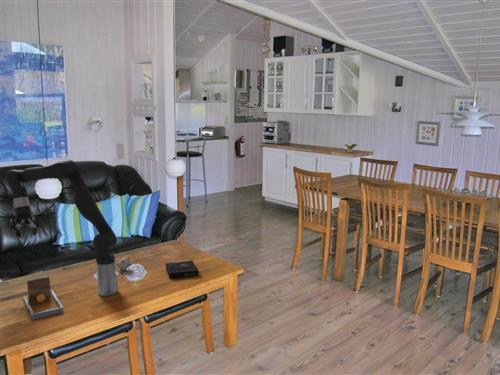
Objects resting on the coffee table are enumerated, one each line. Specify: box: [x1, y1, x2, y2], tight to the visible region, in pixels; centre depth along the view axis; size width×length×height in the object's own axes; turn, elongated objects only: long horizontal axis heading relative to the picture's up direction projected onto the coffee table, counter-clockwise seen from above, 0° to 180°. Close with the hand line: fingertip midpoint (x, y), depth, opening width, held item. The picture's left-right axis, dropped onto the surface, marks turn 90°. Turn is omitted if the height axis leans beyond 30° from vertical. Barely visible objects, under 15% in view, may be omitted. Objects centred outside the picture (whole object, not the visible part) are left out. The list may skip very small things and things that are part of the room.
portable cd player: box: [165, 260, 199, 280], centre depth 264 cm, size 16×17×4 cm
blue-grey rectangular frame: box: [28, 298, 64, 321], centre depth 214 cm, size 11×14×2 cm
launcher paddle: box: [26, 274, 52, 302], centre depth 226 cm, size 3×10×11 cm, turn 125°
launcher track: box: [23, 289, 59, 312], centre depth 224 cm, size 16×14×2 cm
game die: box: [115, 256, 133, 271], centre depth 264 cm, size 9×8×10 cm
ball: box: [36, 294, 46, 303], centre depth 224 cm, size 4×4×4 cm
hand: (27, 236), depth 235 cm, fingers open, 8 cm apart
